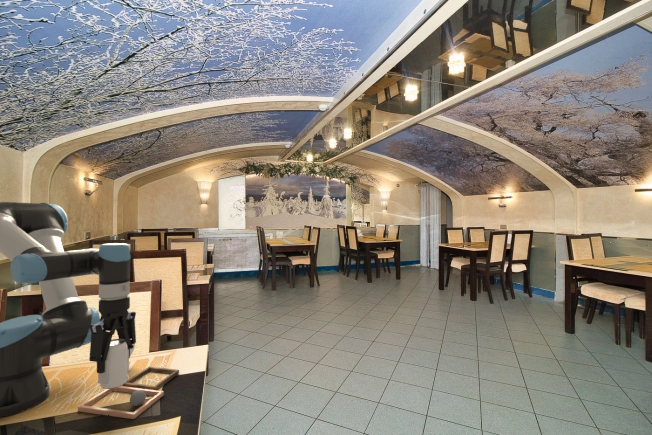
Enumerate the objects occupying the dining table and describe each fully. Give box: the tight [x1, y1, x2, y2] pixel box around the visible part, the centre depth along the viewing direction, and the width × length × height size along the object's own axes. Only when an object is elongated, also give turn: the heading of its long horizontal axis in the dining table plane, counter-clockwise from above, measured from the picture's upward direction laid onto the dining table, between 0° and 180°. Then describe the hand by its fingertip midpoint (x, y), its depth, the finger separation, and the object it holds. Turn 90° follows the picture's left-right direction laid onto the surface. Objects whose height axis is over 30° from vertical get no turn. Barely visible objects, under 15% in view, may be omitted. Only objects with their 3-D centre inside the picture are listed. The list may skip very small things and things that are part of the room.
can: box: [100, 338, 128, 390], centre depth 92 cm, size 6×6×12 cm
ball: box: [129, 390, 147, 407], centre depth 91 cm, size 4×4×4 cm
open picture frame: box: [77, 386, 165, 420], centre depth 92 cm, size 18×12×1 cm, turn 80°
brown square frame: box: [122, 366, 180, 391], centre depth 105 cm, size 12×12×1 cm
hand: (114, 376), depth 92 cm, fingers closed on can, 6 cm apart
